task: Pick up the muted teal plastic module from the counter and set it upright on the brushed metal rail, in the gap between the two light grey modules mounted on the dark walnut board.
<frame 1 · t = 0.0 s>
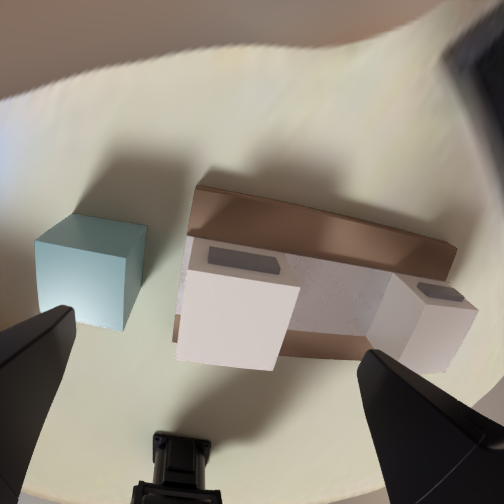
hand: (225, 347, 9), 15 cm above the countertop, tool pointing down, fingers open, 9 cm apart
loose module: (106, 250, 23), on the countertop
mounted modules: (342, 315, 21), on the metal rail, point 4 cm above the countertop
metal rail: (329, 298, 24), on the rail board, point 1 cm above the countertop
rail board: (322, 287, 26), on the countertop
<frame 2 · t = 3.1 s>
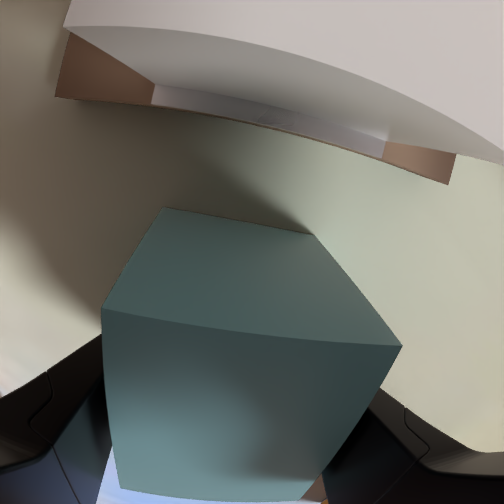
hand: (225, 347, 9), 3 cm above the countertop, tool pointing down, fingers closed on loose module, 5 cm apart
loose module: (223, 302, 11), on the countertop, touching gripper
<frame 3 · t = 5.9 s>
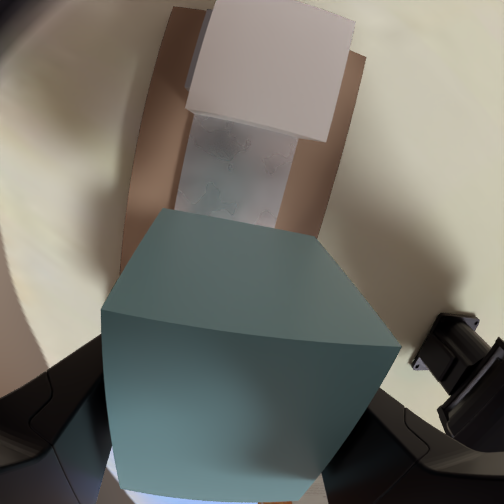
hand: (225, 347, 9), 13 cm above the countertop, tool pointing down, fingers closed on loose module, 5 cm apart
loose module: (222, 303, 11), point 10 cm above the countertop, touching gripper
mounted modules: (226, 211, 16), on the metal rail, point 4 cm above the countertop
metal rail: (228, 200, 19), on the rail board, point 2 cm above the countertop
rail board: (227, 194, 20), on the countertop
small box: (289, 469, 34), on the countertop
when the fingers open (5 cm above the countertop, at t = 8.7 s): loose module stays where it is, resting on metal rail.
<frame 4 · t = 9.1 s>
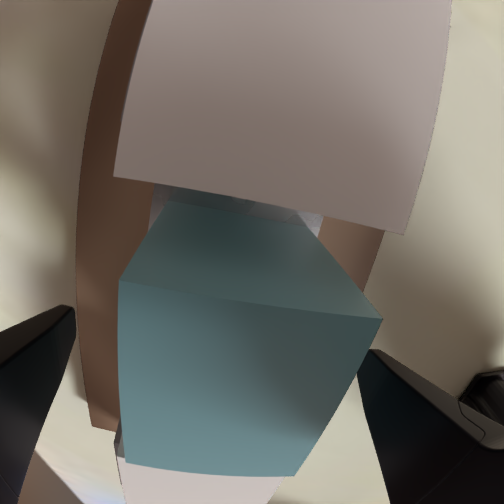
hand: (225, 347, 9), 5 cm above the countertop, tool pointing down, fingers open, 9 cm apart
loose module: (223, 290, 12), point 2 cm above the countertop, touching metal rail
mounted modules: (217, 326, 10), on the metal rail, point 4 cm above the countertop
metal rail: (221, 286, 12), on the rail board, point 2 cm above the countertop
rail board: (221, 267, 14), on the countertop
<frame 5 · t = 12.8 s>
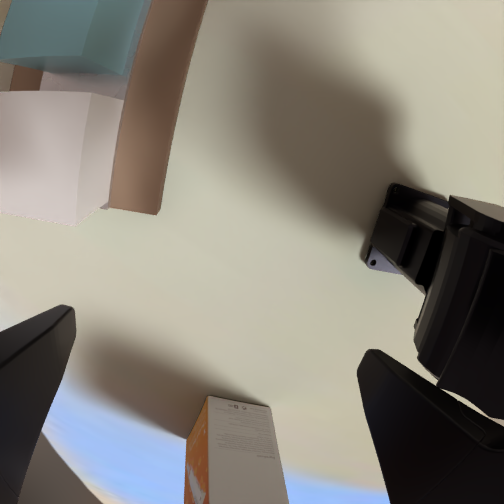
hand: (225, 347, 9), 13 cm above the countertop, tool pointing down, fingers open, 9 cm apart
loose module: (96, 27, 14), point 2 cm above the countertop, touching metal rail
mounted modules: (77, 15, 11), on the metal rail, point 4 cm above the countertop
metal rail: (97, 27, 14), on the rail board, point 2 cm above the countertop
rail board: (106, 34, 16), on the countertop
small box: (225, 423, 29), on the countertop
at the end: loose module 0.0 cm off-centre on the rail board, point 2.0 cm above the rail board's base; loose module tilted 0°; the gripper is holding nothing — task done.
